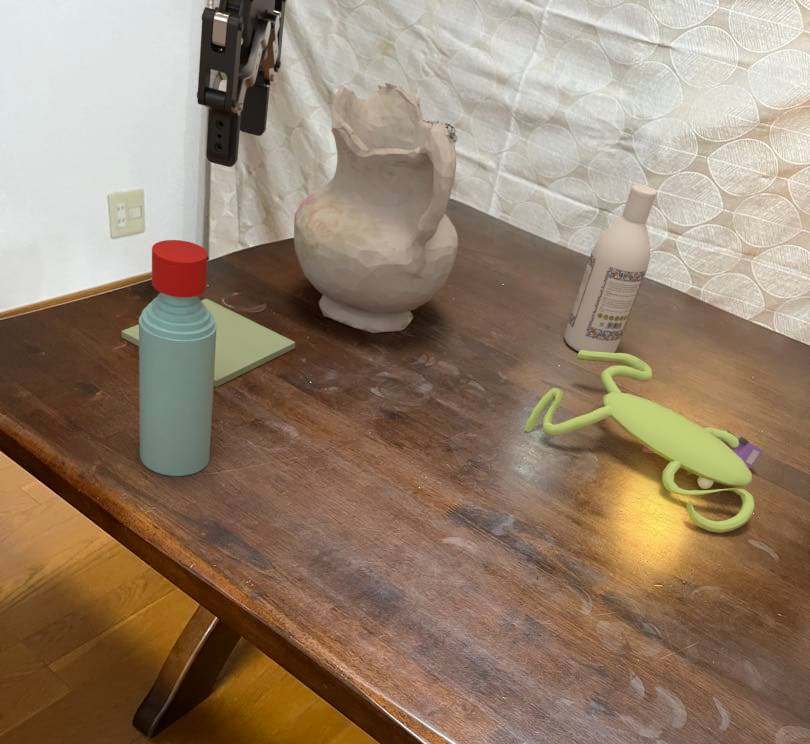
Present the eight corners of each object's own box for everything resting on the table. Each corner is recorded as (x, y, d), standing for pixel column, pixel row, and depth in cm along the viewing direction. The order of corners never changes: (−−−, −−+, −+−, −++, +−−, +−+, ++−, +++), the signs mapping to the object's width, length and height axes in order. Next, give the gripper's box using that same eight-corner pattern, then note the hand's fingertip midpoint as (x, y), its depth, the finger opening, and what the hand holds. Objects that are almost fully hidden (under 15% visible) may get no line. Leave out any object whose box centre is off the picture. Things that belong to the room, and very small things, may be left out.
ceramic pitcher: (479, 349, 107) (546, 138, 93) (362, 370, 94) (420, 129, 80) (368, 277, 118) (412, 78, 103) (249, 287, 105) (282, 61, 91)
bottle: (124, 454, 76) (120, 250, 64) (173, 429, 80) (178, 233, 68) (176, 485, 74) (181, 280, 62) (223, 457, 78) (236, 261, 66)
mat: (121, 337, 91) (121, 330, 90) (206, 304, 100) (206, 298, 100) (215, 387, 87) (216, 380, 86) (295, 348, 96) (295, 342, 96)
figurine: (585, 373, 105) (600, 331, 101) (790, 481, 94) (814, 438, 91) (500, 418, 93) (514, 372, 89) (724, 548, 82) (749, 502, 78)
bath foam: (625, 354, 111) (686, 198, 99) (591, 363, 107) (649, 202, 95) (586, 329, 115) (640, 176, 103) (552, 337, 111) (603, 179, 99)
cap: (140, 282, 66) (140, 247, 64) (178, 270, 69) (178, 235, 67) (180, 302, 65) (181, 266, 63) (216, 288, 68) (218, 254, 66)
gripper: (231, -121, 63) (217, 113, 74) (165, -110, 52) (159, 162, 63) (330, -94, 64) (302, 135, 74) (285, -78, 53) (260, 188, 63)
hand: (237, 147), depth 68 cm, fingers open, 8 cm apart
